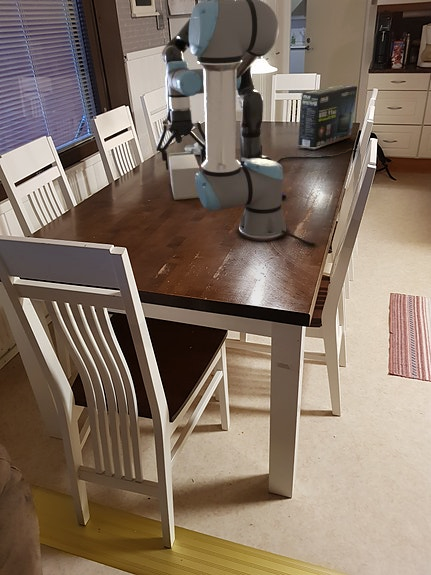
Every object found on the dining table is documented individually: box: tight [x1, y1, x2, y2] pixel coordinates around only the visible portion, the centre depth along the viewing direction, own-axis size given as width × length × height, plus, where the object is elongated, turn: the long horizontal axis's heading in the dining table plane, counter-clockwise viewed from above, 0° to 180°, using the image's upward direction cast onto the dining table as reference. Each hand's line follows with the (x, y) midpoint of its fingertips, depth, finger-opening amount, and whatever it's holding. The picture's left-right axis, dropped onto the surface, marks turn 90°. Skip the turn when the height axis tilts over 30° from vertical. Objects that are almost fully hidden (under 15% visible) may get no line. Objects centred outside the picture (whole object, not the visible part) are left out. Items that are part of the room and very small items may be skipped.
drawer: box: [168, 151, 192, 157], centre depth 195 cm, size 24×9×10 cm, turn 8°
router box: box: [297, 84, 358, 151], centre depth 238 cm, size 36×11×27 cm, turn 134°
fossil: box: [184, 137, 206, 156], centre depth 236 cm, size 18×11×15 cm
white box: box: [168, 153, 200, 201], centre depth 184 cm, size 20×10×12 cm, turn 8°
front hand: (184, 167), depth 176 cm, fingers open, 13 cm apart
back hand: (178, 142), depth 198 cm, fingers closed
